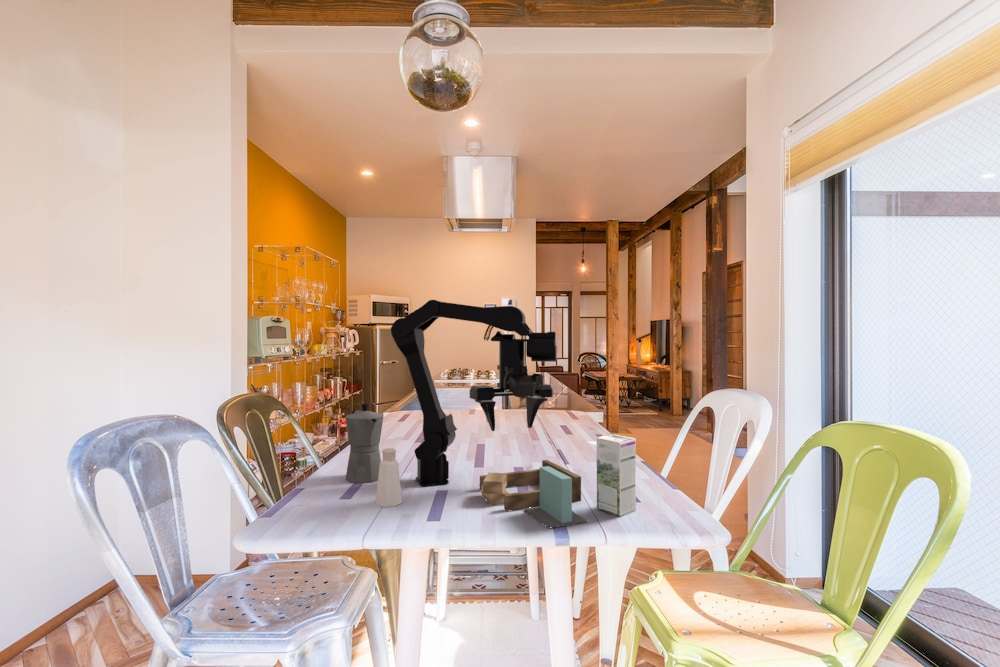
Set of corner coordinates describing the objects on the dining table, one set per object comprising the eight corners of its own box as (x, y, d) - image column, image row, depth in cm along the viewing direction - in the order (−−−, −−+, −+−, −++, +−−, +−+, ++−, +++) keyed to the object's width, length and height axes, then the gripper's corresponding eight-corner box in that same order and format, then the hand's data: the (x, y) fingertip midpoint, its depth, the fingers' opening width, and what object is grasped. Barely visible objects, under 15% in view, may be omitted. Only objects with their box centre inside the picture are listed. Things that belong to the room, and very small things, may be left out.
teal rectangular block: (562, 523, 91) (562, 479, 91) (539, 507, 99) (539, 467, 99) (571, 521, 91) (571, 478, 91) (548, 506, 100) (548, 466, 100)
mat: (548, 528, 89) (548, 526, 89) (524, 510, 98) (524, 508, 98) (587, 522, 92) (587, 520, 92) (560, 505, 101) (560, 503, 101)
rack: (506, 511, 98) (506, 485, 98) (479, 489, 112) (479, 466, 112) (581, 500, 104) (581, 476, 104) (546, 480, 118) (546, 459, 118)
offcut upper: (483, 493, 102) (483, 481, 102) (488, 484, 108) (488, 472, 108) (502, 494, 102) (502, 482, 102) (506, 484, 108) (506, 473, 108)
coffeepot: (393, 481, 118) (394, 405, 118) (354, 488, 112) (354, 408, 112) (370, 467, 130) (370, 398, 130) (334, 472, 125) (334, 400, 125)
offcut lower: (490, 507, 101) (490, 495, 101) (481, 496, 108) (481, 485, 108) (509, 505, 102) (509, 493, 102) (498, 495, 109) (498, 483, 109)
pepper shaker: (393, 496, 106) (393, 445, 106) (407, 503, 102) (407, 449, 102) (370, 502, 102) (370, 449, 103) (384, 509, 99) (384, 453, 99)
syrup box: (637, 510, 99) (637, 437, 99) (619, 517, 95) (619, 441, 95) (613, 503, 103) (613, 432, 103) (595, 509, 99) (595, 436, 99)
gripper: (486, 364, 103) (486, 439, 103) (565, 362, 110) (564, 432, 110) (468, 361, 113) (468, 429, 113) (541, 360, 121) (541, 424, 121)
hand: (511, 429), depth 114 cm, fingers open, 9 cm apart
